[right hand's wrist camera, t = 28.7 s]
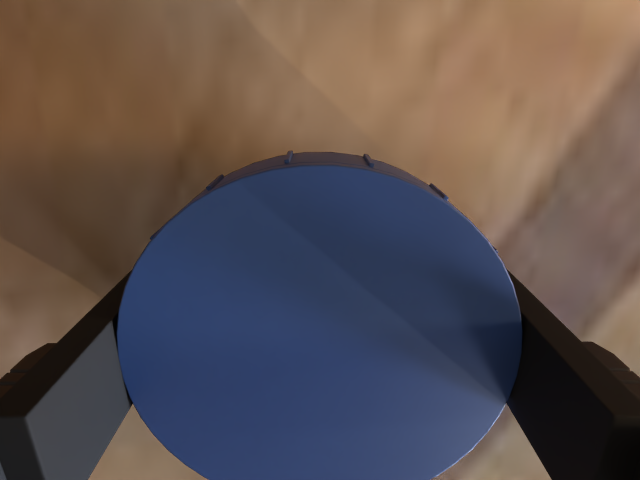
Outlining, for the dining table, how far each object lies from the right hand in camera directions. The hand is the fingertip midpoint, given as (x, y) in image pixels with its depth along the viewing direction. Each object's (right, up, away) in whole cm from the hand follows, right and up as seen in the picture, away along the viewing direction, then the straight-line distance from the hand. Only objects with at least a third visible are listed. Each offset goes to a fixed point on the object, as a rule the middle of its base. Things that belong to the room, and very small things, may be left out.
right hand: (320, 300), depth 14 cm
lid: (0, -1, -3) cm, 3 cm away
